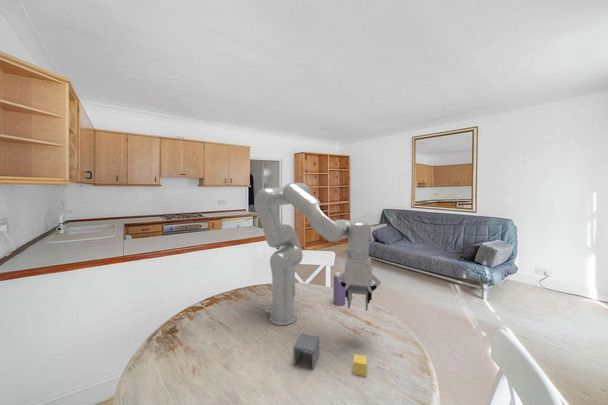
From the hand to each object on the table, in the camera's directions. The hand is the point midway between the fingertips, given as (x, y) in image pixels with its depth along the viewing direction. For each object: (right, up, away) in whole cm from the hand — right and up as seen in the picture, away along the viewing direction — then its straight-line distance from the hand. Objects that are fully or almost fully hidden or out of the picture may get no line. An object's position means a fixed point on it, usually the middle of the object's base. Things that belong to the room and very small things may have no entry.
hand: (358, 300), depth 94 cm
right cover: (0, -2, 0) cm, 2 cm away
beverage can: (-3, -15, +33) cm, 36 cm away
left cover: (-20, -17, -8) cm, 28 cm away
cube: (-3, -18, -14) cm, 22 cm away
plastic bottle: (-29, -14, +43) cm, 54 cm away
